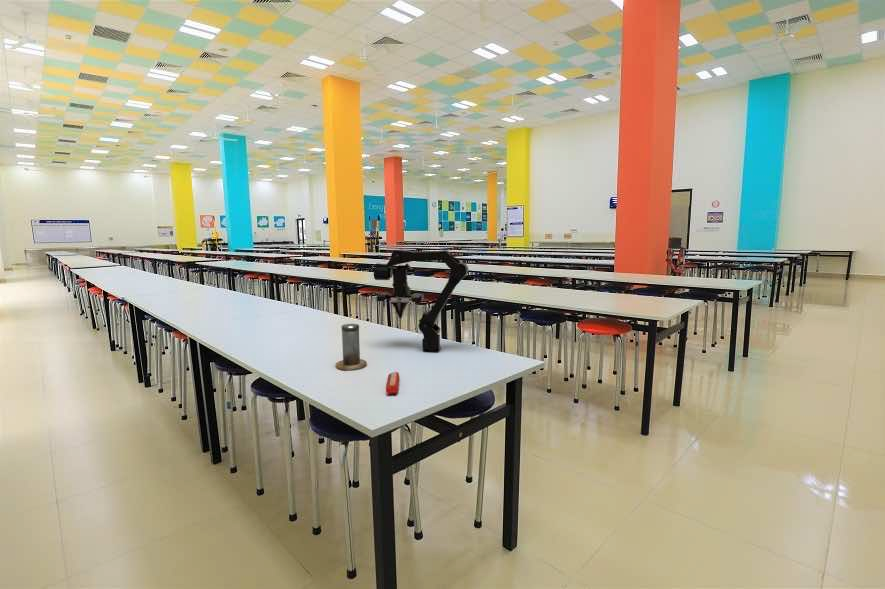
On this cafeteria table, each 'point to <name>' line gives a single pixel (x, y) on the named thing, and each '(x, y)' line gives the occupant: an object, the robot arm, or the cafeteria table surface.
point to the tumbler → (350, 344)
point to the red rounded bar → (392, 383)
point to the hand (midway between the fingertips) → (400, 318)
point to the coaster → (350, 368)
